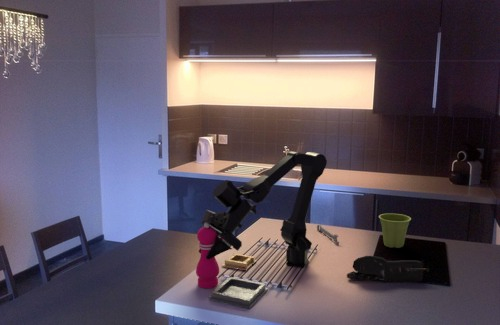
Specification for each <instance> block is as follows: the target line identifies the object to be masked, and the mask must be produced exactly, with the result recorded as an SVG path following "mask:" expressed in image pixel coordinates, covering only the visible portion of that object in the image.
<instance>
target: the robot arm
mask: <svg viewBox="0 0 500 325" xmlns="http://www.w3.org/2000/svg"><path fill="white" fill-rule="evenodd" d="M327 163H328V160H327V158H326V156H325V154H323V153H319V152H317V153H316V152H313V151H307V152H306V153H302V152H298V151H289V152H287V153H286V155H285V156H284V157H282V158H281V159H280V160H279V161H278V162H276V163H275V164H274V165H272V167H270V168H269V169H268V170H267V171H266V172H264V173H263V174H262V175H261V176H258V177H255V178H254V177H253V179H251V180H249V181H247V182H246V183H244V184H243V185H242V186H238V187H236V186H235V185H234V183H233V182H232V181H231V180H229V179H226V180H225V181H224V182H223V181H222V182H221V183H220V184H219V185H216V186H215V188H214V189H213V191H212V196H213V197H214V198H215V199H216V200H217V201H218V202H219V203H220V204H221V205H223V206H224V207H225V208H228V210H227V211H221V212H219V211H216V212H214V211H212V210H208V209H205V211H204V213H203V215H202V221H201V222H200V225H201V226H202V227H204V224H205V223H206V222H208V223H209V224H210V226H209V227H212V228H214V229H215V231H216V233H217V236H216V237H215V241H214V242H215V243H214V245H213V246H212V248H211V249H210V251H209V252H208V254H207V256H206V258H207V259H208V260H209V259H211V258H213V257H214V256H215V257H217V256H218V255H220V254H223V253H225V252H227V251H229V250H230V251H232V250H233V249H235V250H236V251H237V252H238V251H239V250H240V249H241V248H242V243H243V242H242V241H241V240H240V239H239V238H238V237H236V236H235V234H234V232H235V231H236V230H237V229H238V228H240V229H241V228H242V227H243V225H242V222H243V221H244V220H245V218H247V216H248V215H249V213H252V214H254V215H256V214H257V205H256V204H253V203H257V204H260V203H262V201H264V200H265V199H266V198H267V196H268V195H269V194H270V191H271V190H272V188H273V186H274V185H276V184H277V183H278V182H279V181H280V180H281V179H282V178H284V177H285V176H286V175H288V174H289V173H290V172H291V171H292V170H293V169H294V168H295V167H297V165H300V170H301V175H302V176H301V181H300V184H299V187H298V190H297V195H296V198H295V202H294V204H293V208H292V211H291V214H290V216H289V218H288V219H283V221H282V225H281V228H280V229H279V230H280V236H281V239H283V241H284V243H285V245H288V246H287V249H286V252H285V253H286V255H285V259H286V263H285V265H286V264H287V265H286V266H290V265H292V266H291V267H296V266H297V267H296V268H305V266H306V265H308V263H309V262H310V260H309V259H308V255H309V254H308V250H311V248H312V245H313V243H312V241H310V240H309V239H308V238H307V237H306V236H307V225H306V218H307V214H308V211H309V208H310V204H311V200H312V198H313V194H314V191H315V186H316V183H317V181H318V179H319V178H320V177H321V176H322V175H323V173H324V171H325V169H326V167H327ZM242 198H243V199H242ZM248 200H249V201H250V202H253V203H250V202H249V201H248ZM198 253H199V254H200V255H201V249H200V248H199V249H198Z"/></svg>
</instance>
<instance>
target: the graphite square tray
mask: <svg viewBox="0 0 500 325" xmlns="http://www.w3.org/2000/svg"><path fill="white" fill-rule="evenodd" d="M266 285H267V284H266V283H264V282H259V281H253V280H248V279H243V278H239V277H232V276H230V277H228V278H227V279H226V280H224V281H223V282H222V283H221V284H220V285H218V286H216V288H215V289H214V290H213V291H212V292H210V296H209V297H208V300H209V301H213V302H217V303H222V304H226V305H231V306H235V307H240V308H244V309H249V310H250V309H251V308H252V307H254V305H255V304H256V303H257V302H258V301H259V300H260V299H261V298H262V297H263V295H265V293H267V291H268V290H269V289H268V288H269V287H267V286H266Z"/></svg>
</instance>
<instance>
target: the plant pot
mask: <svg viewBox="0 0 500 325" xmlns="http://www.w3.org/2000/svg"><path fill="white" fill-rule="evenodd" d="M378 218H379V220H380V224H381V230H382V237H383V238H382V240H383V244H384V246H385V247H388V248H396V249H400V248H403V247H404V245H405V241H406V237H407V235H406V234H407V231H408V226H409V224H410V221H411V220H412V217H410V216H408V215H406V214H400V213H382V214H380V215H378Z"/></svg>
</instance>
